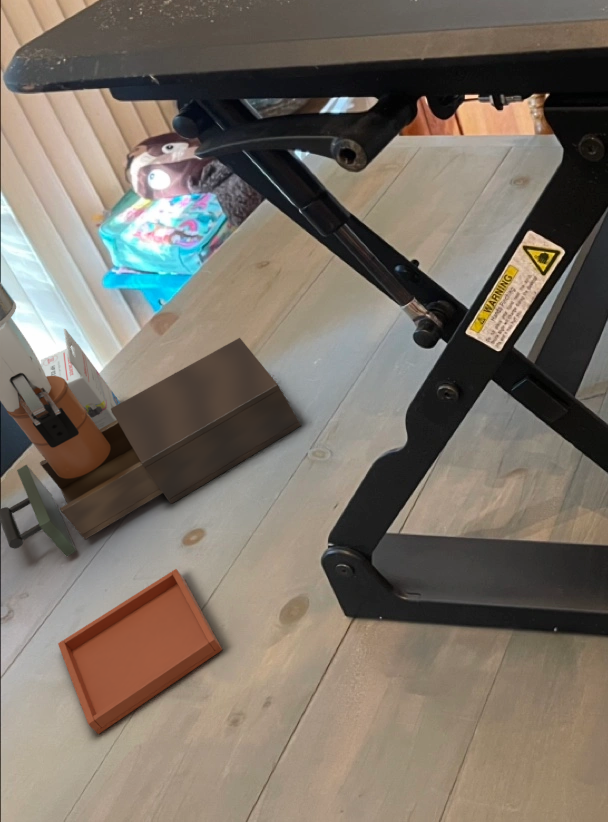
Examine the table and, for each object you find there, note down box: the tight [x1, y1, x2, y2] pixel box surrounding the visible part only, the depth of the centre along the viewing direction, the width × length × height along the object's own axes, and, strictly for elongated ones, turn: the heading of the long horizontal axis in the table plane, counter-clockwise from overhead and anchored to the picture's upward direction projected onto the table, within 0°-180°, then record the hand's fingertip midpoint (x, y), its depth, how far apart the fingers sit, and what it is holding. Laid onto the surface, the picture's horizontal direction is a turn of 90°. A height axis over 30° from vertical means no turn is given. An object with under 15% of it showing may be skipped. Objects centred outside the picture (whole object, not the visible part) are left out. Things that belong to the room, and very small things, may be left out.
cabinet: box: [111, 337, 302, 504], centre depth 138 cm, size 18×14×8 cm
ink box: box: [40, 328, 121, 429], centre depth 141 cm, size 8×5×15 cm, turn 31°
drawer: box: [0, 420, 163, 557], centre depth 131 cm, size 21×13×6 cm, turn 130°
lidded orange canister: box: [6, 376, 110, 478], centre depth 127 cm, size 7×7×11 cm
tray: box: [57, 568, 223, 735], centre depth 114 cm, size 13×13×2 cm
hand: (57, 423), depth 126 cm, fingers closed on lidded orange canister, 6 cm apart
